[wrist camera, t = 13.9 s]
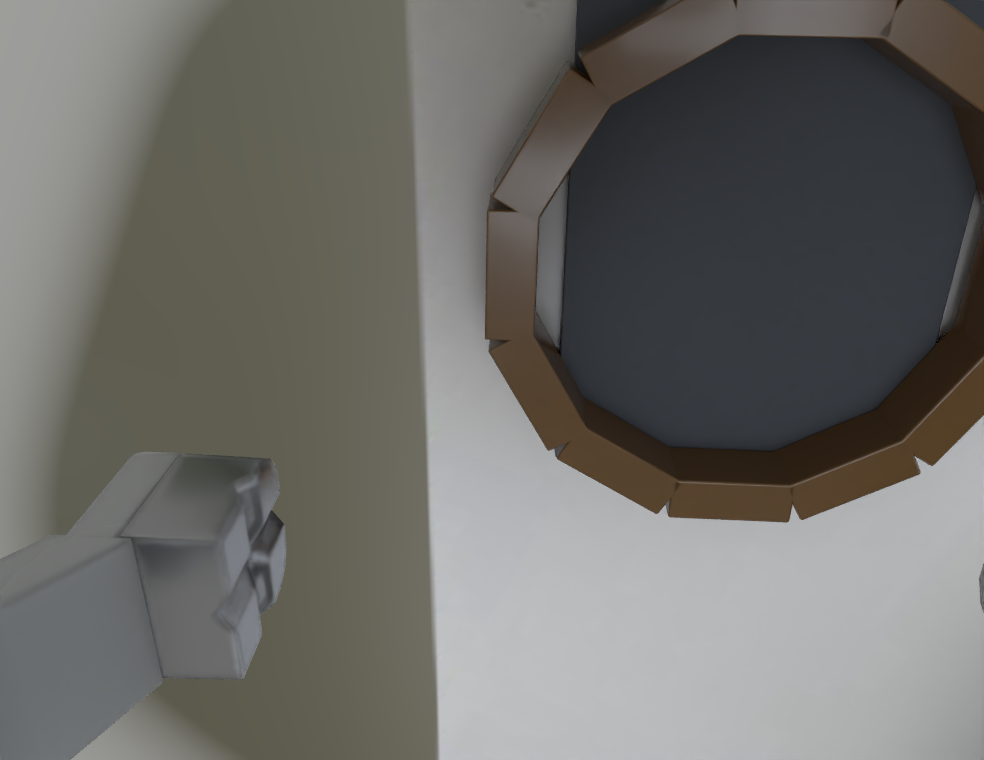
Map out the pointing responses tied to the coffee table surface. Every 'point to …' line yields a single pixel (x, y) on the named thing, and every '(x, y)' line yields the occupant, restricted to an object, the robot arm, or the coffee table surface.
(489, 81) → the coffee table surface
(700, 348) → the mat
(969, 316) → the hoop
